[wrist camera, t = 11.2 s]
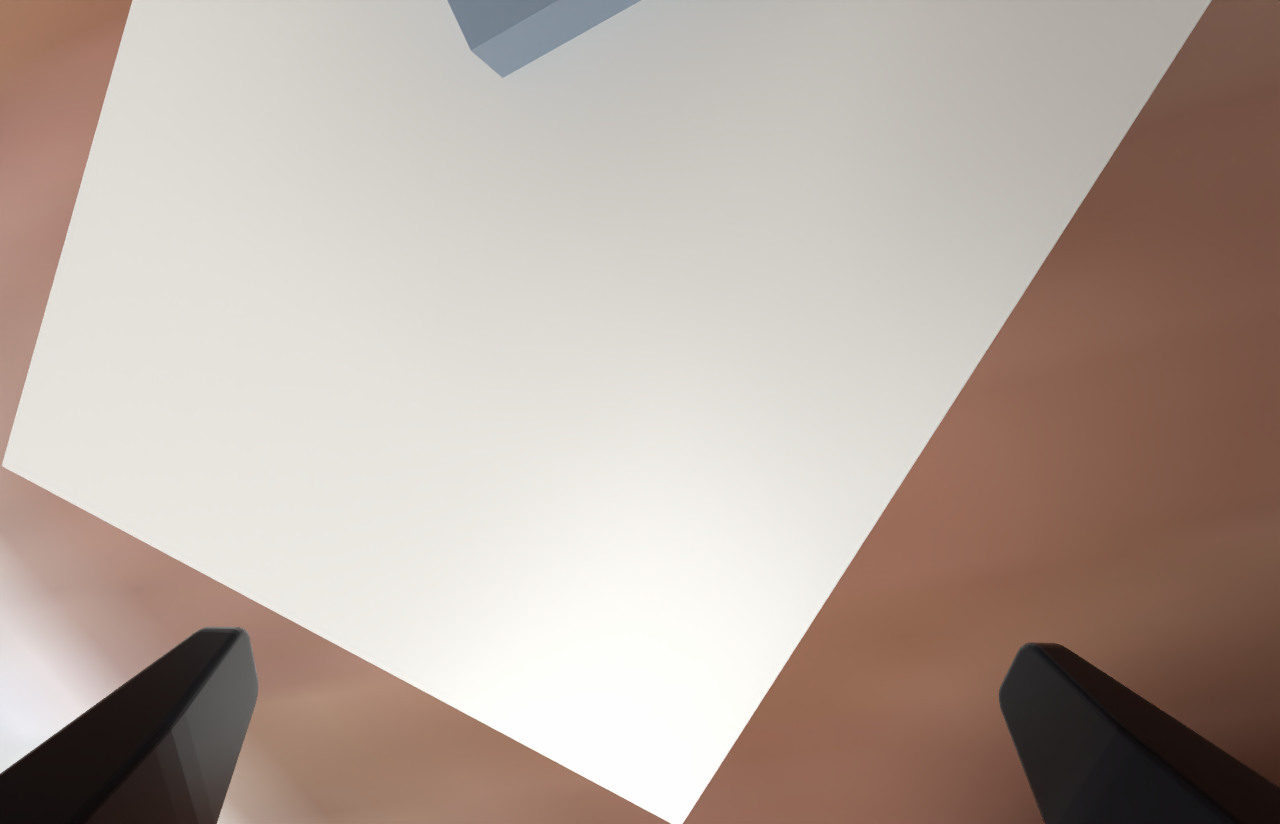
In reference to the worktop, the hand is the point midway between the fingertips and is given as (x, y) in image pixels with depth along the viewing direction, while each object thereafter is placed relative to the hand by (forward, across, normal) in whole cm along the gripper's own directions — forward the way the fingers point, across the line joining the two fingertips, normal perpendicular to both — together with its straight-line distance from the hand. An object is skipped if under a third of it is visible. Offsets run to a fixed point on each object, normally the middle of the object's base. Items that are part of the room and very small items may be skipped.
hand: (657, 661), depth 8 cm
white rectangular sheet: (+12, +2, -3) cm, 12 cm away
